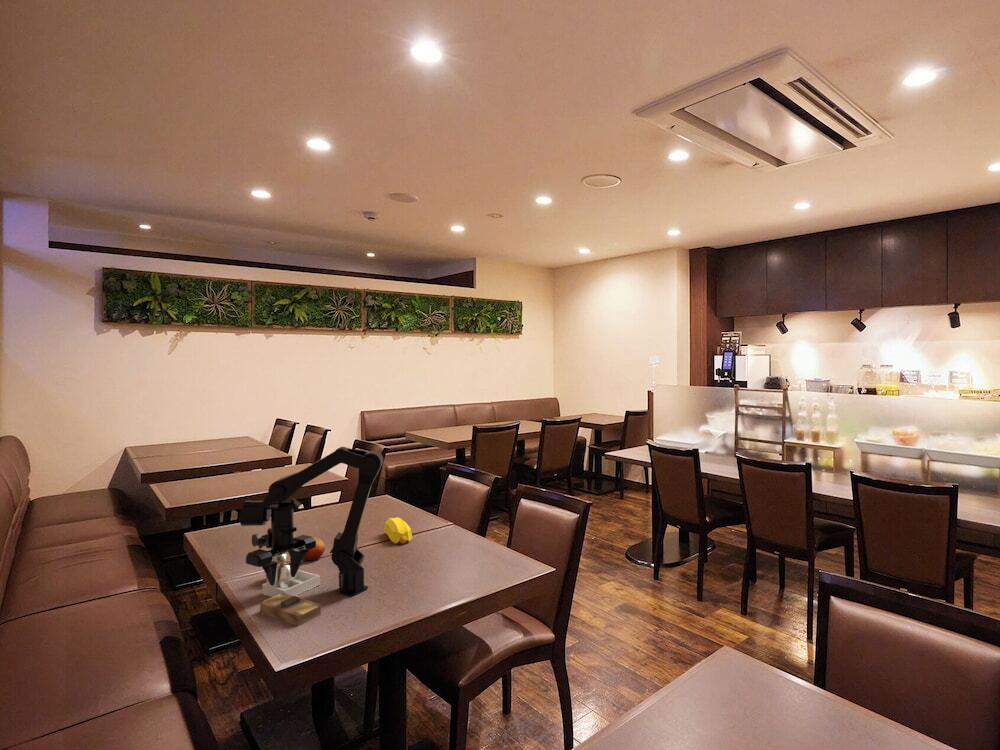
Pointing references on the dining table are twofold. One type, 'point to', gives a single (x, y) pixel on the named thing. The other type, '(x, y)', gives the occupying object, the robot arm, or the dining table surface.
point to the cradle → (290, 609)
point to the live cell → (283, 575)
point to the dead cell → (281, 558)
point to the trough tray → (294, 584)
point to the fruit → (315, 551)
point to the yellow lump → (397, 530)
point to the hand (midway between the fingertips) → (282, 580)
